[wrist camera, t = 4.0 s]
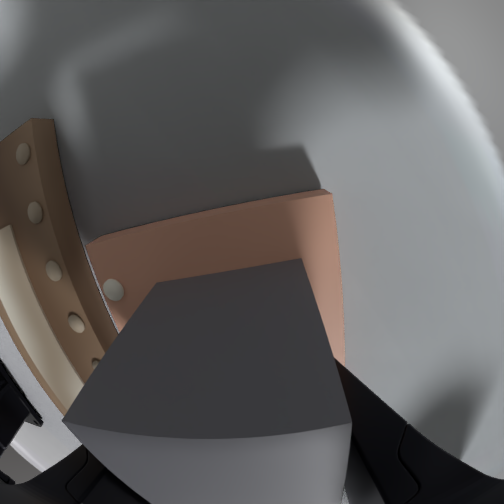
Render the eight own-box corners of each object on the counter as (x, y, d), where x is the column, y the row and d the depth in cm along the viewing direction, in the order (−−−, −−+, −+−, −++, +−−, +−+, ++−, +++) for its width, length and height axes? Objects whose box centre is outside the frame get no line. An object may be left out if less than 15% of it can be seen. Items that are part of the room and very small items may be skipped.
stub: (185, 420, 11) (157, 531, 5) (101, 235, 8) (-39, 336, 3) (339, 405, 10) (365, 527, 5) (323, 188, 8) (459, 282, 2)
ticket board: (114, 451, 13) (108, 465, 12) (-24, 175, 8) (-43, 181, 6) (196, 461, 13) (193, 478, 12) (53, 119, 7) (29, 118, 6)
